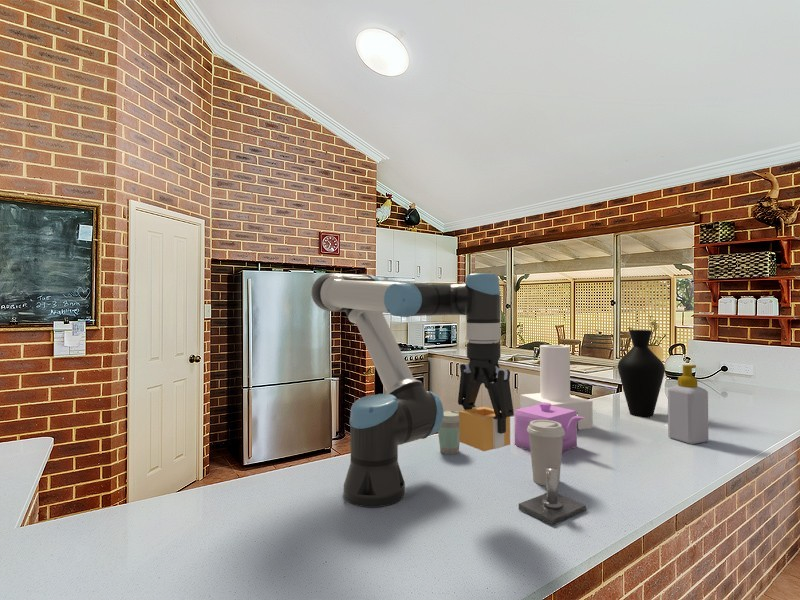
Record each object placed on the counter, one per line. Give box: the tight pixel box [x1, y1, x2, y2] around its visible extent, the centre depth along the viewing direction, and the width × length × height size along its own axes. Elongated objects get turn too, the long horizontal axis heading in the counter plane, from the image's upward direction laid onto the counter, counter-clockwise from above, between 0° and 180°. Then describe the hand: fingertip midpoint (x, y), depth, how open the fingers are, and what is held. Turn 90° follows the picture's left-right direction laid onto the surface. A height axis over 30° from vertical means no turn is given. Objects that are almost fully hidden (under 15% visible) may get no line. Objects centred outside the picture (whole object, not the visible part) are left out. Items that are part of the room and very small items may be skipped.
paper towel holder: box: [519, 344, 594, 430], centre depth 168 cm, size 19×19×30 cm
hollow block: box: [458, 406, 511, 452], centre depth 98 cm, size 8×8×7 cm
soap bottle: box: [667, 364, 709, 445], centre depth 147 cm, size 9×9×25 cm
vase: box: [617, 329, 666, 418], centre depth 180 cm, size 17×17×35 cm
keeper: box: [518, 467, 587, 527], centre depth 98 cm, size 12×9×9 cm
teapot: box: [513, 402, 584, 452], centre depth 141 cm, size 15×25×14 cm, turn 36°
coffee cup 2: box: [527, 420, 565, 487], centre depth 114 cm, size 10×10×15 cm
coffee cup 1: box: [437, 409, 461, 455], centre depth 137 cm, size 9×8×12 cm
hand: (484, 441), depth 98 cm, fingers closed on hollow block, 8 cm apart
